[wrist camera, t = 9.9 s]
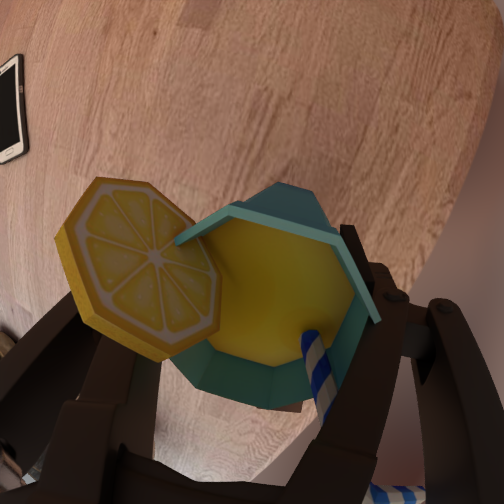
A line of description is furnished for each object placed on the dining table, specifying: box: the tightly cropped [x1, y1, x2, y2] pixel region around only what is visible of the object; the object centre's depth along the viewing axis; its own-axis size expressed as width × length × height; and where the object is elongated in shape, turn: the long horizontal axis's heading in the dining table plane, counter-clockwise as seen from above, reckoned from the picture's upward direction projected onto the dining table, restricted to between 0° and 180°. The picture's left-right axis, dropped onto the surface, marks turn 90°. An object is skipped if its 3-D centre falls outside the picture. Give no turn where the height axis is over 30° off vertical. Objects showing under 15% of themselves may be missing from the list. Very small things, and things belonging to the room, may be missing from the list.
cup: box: [54, 177, 426, 504], centre depth 12 cm, size 14×8×15 cm, turn 54°
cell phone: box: [0, 54, 28, 165], centre depth 28 cm, size 8×15×1 cm, turn 7°
